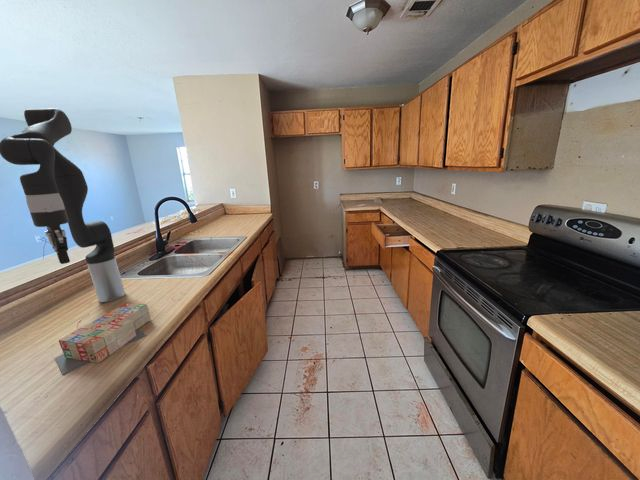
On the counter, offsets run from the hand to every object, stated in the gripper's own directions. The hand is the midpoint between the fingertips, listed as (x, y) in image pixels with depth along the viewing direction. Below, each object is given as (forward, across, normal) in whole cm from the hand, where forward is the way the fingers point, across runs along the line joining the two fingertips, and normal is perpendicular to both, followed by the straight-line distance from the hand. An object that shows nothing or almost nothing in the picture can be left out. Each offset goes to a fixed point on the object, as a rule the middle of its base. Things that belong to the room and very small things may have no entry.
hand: (65, 262), depth 83 cm
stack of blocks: (+21, +10, +2) cm, 23 cm away
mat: (+24, +17, 0) cm, 30 cm away
